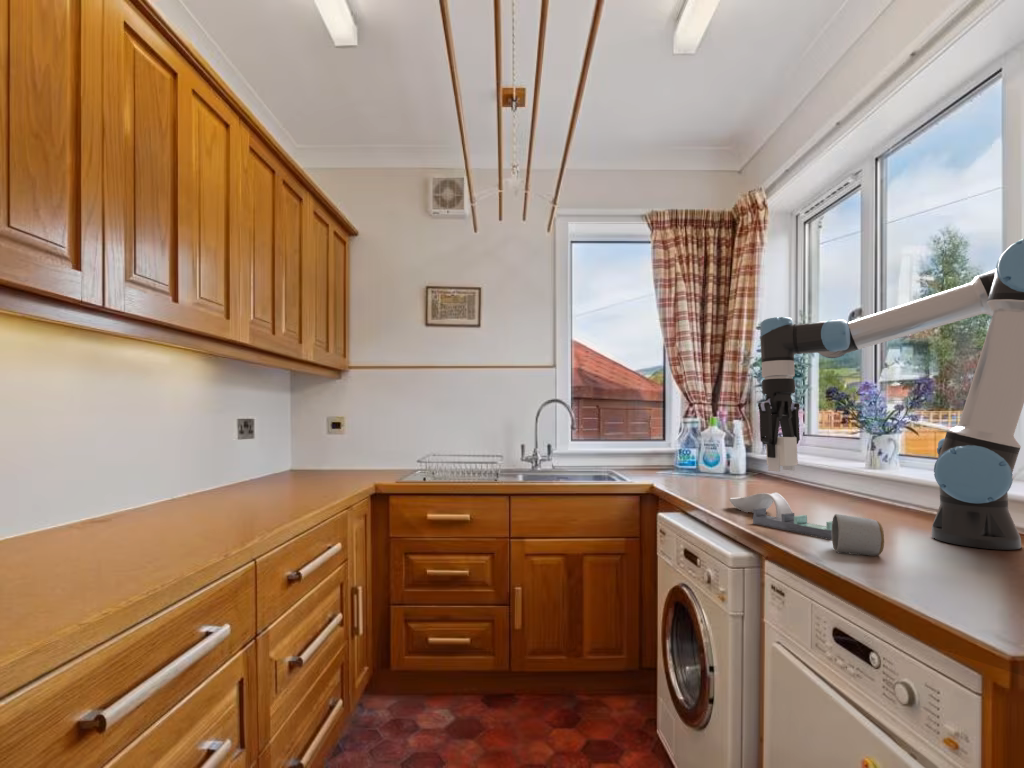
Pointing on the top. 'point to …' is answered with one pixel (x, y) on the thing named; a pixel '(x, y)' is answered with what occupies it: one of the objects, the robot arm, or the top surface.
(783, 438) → the nylon block
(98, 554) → the top surface
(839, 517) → the grey cylinder
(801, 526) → the rail
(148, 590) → the top surface
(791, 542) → the top surface
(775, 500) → the spoon rest
